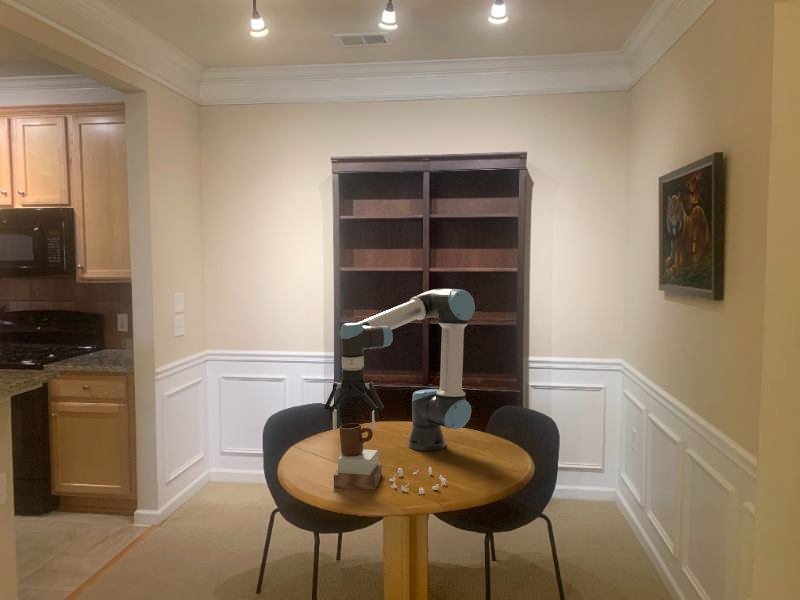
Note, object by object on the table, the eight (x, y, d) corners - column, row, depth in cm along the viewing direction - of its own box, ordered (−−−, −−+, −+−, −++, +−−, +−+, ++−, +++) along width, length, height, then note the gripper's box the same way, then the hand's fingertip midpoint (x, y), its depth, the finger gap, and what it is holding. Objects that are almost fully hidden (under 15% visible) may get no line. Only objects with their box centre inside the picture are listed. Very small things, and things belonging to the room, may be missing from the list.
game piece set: (380, 479, 202) (379, 468, 202) (431, 470, 210) (431, 460, 210) (402, 499, 184) (402, 487, 184) (457, 489, 192) (457, 477, 192)
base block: (381, 476, 206) (381, 462, 205) (375, 491, 192) (375, 476, 191) (342, 474, 207) (342, 461, 207) (333, 489, 193) (333, 474, 193)
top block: (378, 464, 203) (377, 450, 203) (369, 475, 192) (369, 460, 192) (347, 462, 205) (347, 448, 205) (338, 472, 195) (337, 458, 194)
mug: (378, 450, 200) (376, 423, 199) (369, 457, 193) (367, 429, 192) (347, 448, 204) (345, 422, 204) (337, 455, 197) (335, 428, 197)
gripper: (314, 370, 195) (316, 432, 197) (387, 370, 192) (389, 433, 194) (319, 366, 203) (321, 426, 204) (390, 366, 200) (391, 427, 201)
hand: (354, 429), depth 199 cm, fingers open, 13 cm apart
